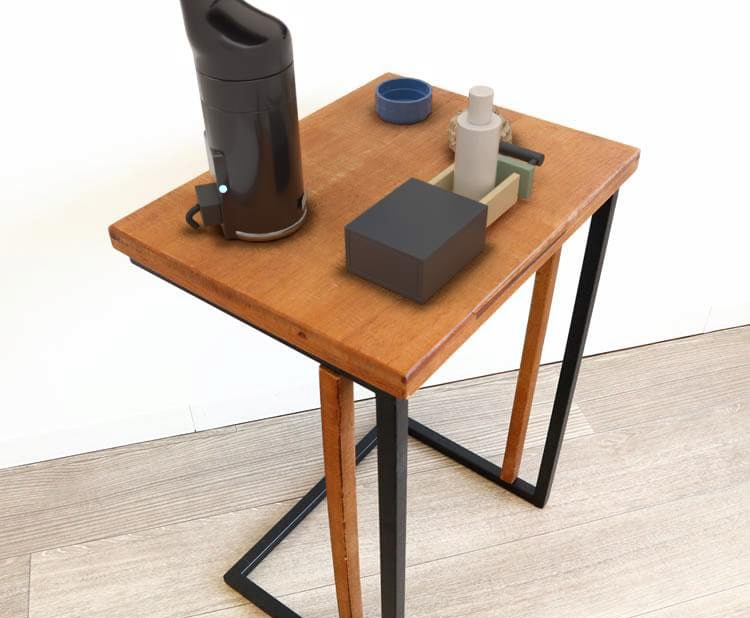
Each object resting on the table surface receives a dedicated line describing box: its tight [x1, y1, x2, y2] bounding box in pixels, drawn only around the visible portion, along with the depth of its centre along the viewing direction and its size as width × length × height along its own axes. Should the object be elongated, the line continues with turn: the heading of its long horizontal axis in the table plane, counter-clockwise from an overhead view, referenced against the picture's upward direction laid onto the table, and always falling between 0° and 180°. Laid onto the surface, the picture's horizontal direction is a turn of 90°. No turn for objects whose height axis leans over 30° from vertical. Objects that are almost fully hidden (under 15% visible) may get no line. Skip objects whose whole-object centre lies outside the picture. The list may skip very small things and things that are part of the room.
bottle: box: [453, 85, 501, 202], centre depth 85 cm, size 4×4×12 cm
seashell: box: [446, 107, 513, 155], centre depth 100 cm, size 8×6×10 cm
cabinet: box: [343, 176, 488, 305], centre depth 83 cm, size 11×9×5 cm
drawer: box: [427, 140, 546, 229], centre depth 90 cm, size 14×8×4 cm, turn 143°
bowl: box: [374, 76, 434, 125], centre depth 107 cm, size 7×7×3 cm
